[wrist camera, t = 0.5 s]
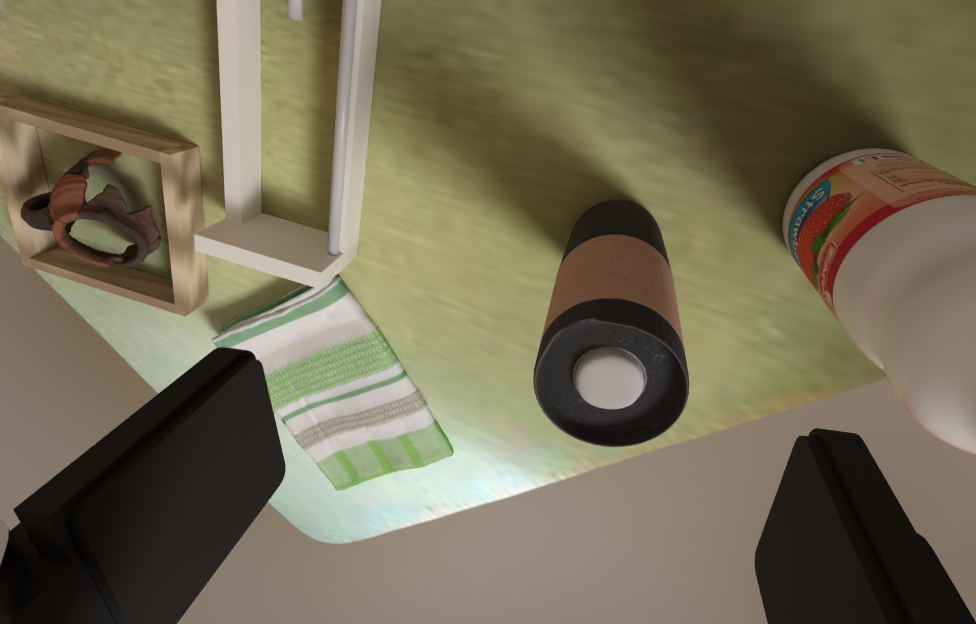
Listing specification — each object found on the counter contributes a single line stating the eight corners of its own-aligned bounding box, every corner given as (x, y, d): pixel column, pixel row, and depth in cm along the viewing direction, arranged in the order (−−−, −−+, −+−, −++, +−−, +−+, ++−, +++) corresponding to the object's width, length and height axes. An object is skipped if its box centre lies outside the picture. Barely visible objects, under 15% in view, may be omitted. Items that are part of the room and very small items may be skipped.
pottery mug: (145, 136, 49) (116, 198, 44) (198, 212, 56) (178, 272, 52) (15, 150, 49) (-29, 213, 44) (85, 224, 57) (54, 285, 52)
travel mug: (644, 297, 45) (656, 468, 28) (556, 270, 46) (514, 422, 28) (680, 211, 41) (720, 349, 24) (583, 184, 42) (554, 299, 24)
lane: (239, -126, 37) (164, -155, 31) (390, -90, 36) (343, -112, 30) (246, 223, 50) (195, 250, 44) (357, 256, 49) (319, 289, 43)
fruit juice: (939, 248, 38) (1467, 634, 14) (794, 288, 42) (1021, 650, 18) (921, 121, 35) (1567, 343, 11) (765, 176, 39) (995, 434, 15)
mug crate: (19, 94, 49) (-21, 99, 46) (198, 146, 47) (170, 155, 44) (54, 251, 57) (22, 264, 54) (208, 300, 56) (185, 316, 53)
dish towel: (341, 264, 51) (323, 280, 48) (461, 445, 58) (452, 469, 55) (221, 323, 58) (199, 340, 54) (342, 479, 65) (328, 501, 62)
